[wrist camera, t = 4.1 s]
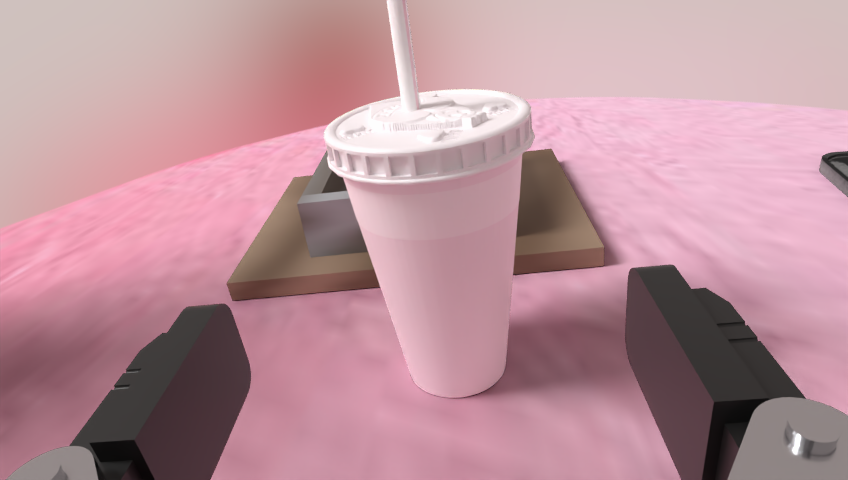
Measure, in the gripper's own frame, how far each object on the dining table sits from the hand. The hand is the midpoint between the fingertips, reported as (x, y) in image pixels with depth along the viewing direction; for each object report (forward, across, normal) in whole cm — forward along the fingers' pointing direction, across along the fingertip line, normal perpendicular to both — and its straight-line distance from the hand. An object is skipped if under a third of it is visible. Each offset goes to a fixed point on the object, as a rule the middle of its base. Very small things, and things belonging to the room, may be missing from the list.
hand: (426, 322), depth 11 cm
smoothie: (+8, 0, +8) cm, 11 cm away
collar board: (+20, +2, +8) cm, 22 cm away
